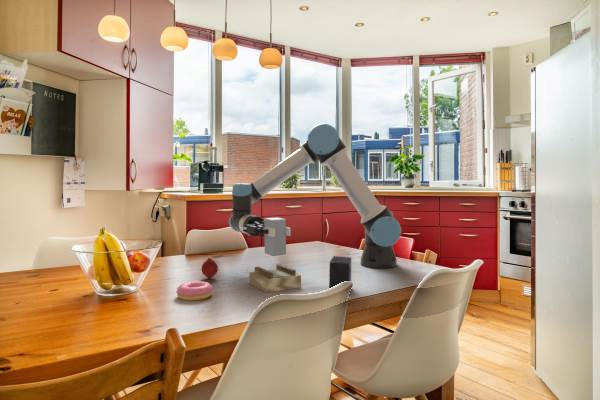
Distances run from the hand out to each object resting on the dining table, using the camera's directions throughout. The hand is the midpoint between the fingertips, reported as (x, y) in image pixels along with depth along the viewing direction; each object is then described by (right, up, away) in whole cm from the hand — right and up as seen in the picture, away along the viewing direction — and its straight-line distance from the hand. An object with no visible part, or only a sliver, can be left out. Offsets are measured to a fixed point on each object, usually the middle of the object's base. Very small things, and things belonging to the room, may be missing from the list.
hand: (281, 232), depth 132 cm
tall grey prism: (-2, -8, +5) cm, 9 cm away
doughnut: (-27, -20, -8) cm, 34 cm away
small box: (+19, -19, -1) cm, 27 cm away
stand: (-3, -19, +5) cm, 19 cm away
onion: (-27, -18, +15) cm, 36 cm away
